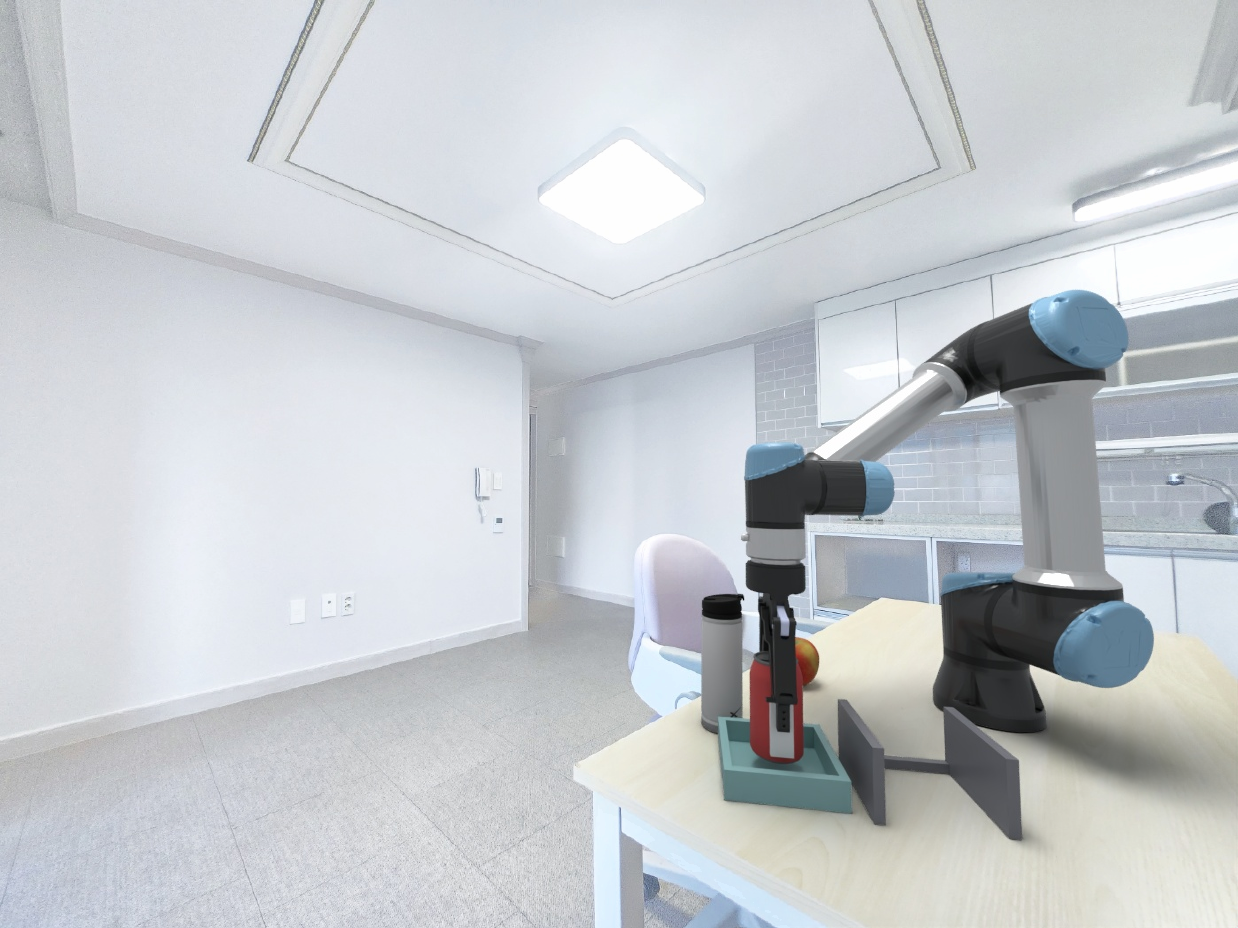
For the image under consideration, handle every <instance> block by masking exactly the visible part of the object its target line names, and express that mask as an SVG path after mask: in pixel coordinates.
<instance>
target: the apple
mask: <svg viewBox="0 0 1238 928" xmlns="http://www.w3.org/2000/svg"><path fill="white" fill-rule="evenodd" d="M795 646H796V658H797V659H798V665H799V667H800V670H801V673H802V677H803V687H804V686H807V685H809V684H810V683H812V682H813V681H814V679H815V678H816V676H817V674H818V671H819V668H820V654H819V651H818V650H817V648H816V646H815V645H814V644H813V642H812V641H810V640H809V639H806V638H803V637H798V636H795Z"/></svg>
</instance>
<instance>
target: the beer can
mask: <svg viewBox="0 0 1238 928" xmlns="http://www.w3.org/2000/svg"><path fill="white" fill-rule="evenodd" d="M752 658H753V660H752V664H751V666H750V669H749V719H750V746H751V748H752V750H753V752H754V753H755V754H756V755H757V756H759V757H760V758H762V759H764V760H766V761H769V762H772V763H777V764H792V763H795V762H797V761H799V760H800V759H801V758H802V757H803V754H804V740H803V723H804V686H803V677H802V673H801V670H800V667H799V665H798V659H797V658H796V678H797V697H798V702H797V705H793V716H794V758H783V757H772V756H771V755H770V718H769V703H768V702H766V700H765V697H771V679H770V661H769V651H761V652H759V651H757V652H756V653H754V654H753V657H752Z"/></svg>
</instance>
